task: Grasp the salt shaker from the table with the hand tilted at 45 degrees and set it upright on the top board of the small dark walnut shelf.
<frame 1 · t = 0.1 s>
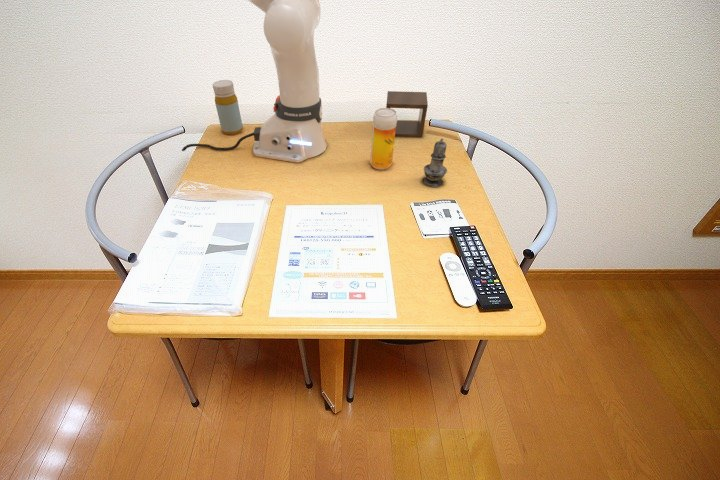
beer can: (380, 165, 103), on the table
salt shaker: (432, 182, 96), on the table
shelf: (402, 129, 118), on the table
bottle: (232, 131, 122), on the table
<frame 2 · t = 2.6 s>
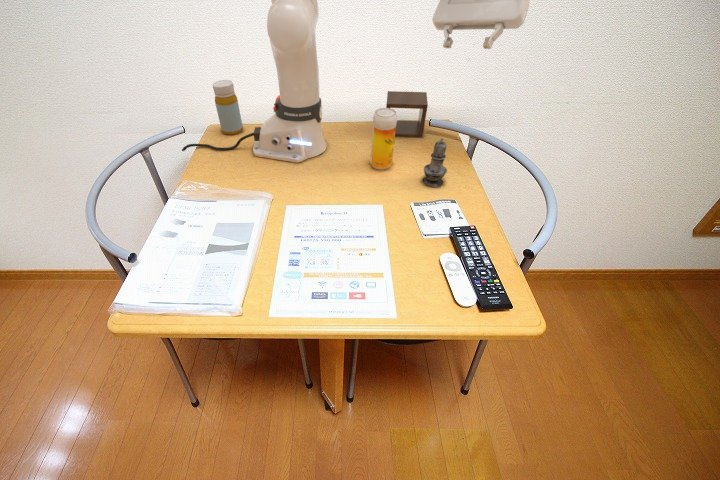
hand: (466, 47, 83), 28 cm above the table, tool tilted 40°, fingers open, 8 cm apart
nothing on the table moved.
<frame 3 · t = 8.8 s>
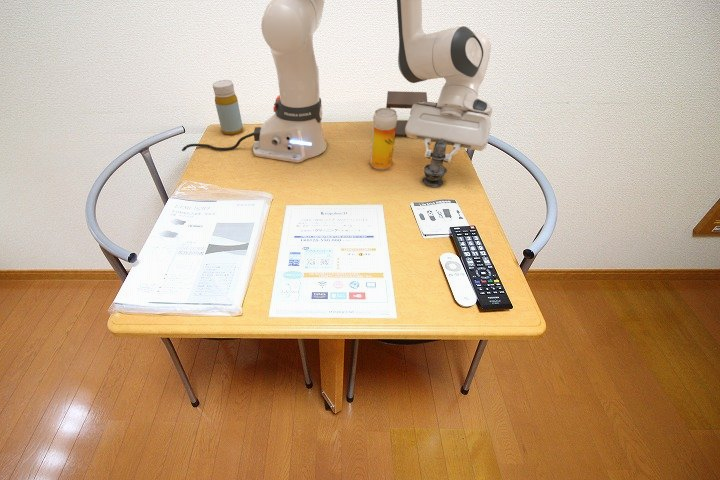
hand: (437, 160, 91), 7 cm above the table, tool tilted 45°, fingers closed on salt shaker, 3 cm apart
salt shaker: (432, 182, 96), on the table, touching gripper
everything else where it was.
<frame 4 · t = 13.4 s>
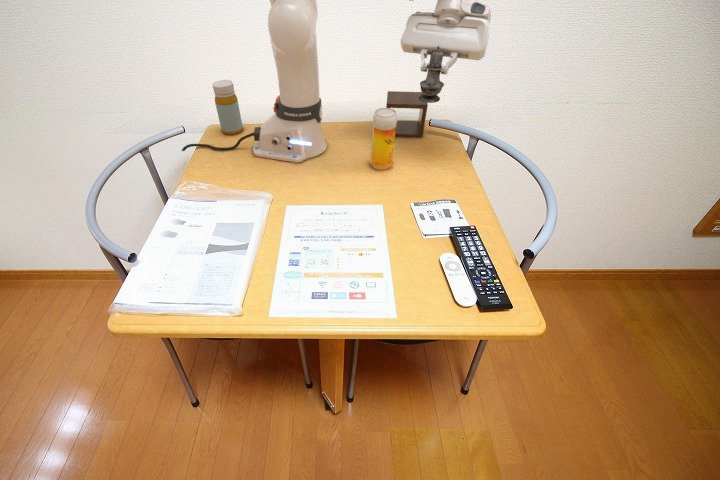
hand: (433, 71, 88), 23 cm above the table, tool tilted 45°, fingers closed on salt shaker, 3 cm apart
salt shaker: (429, 99, 93), point 16 cm above the table, touching gripper
everything else where it was.
when the fingers open (16 cm above the table, at t = 18.0 s): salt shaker stays where it is, resting on shelf.
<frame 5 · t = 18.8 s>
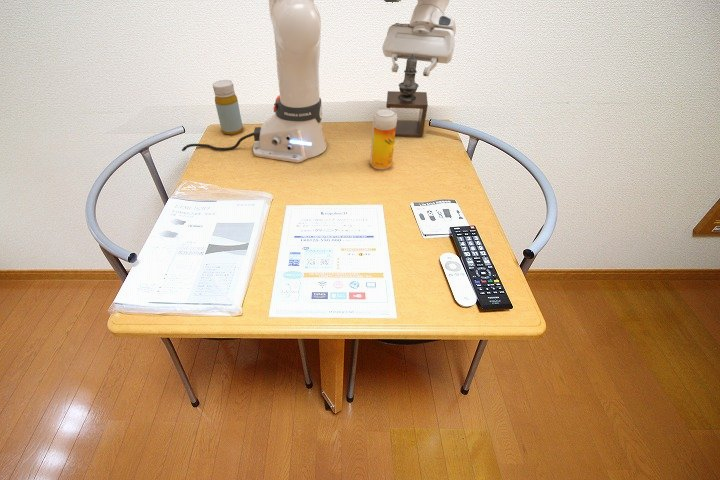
hand: (409, 73, 105), 17 cm above the table, tool tilted 45°, fingers open, 8 cm apart
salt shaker: (406, 98, 111), point 10 cm above the table, touching shelf
everything else where it was.
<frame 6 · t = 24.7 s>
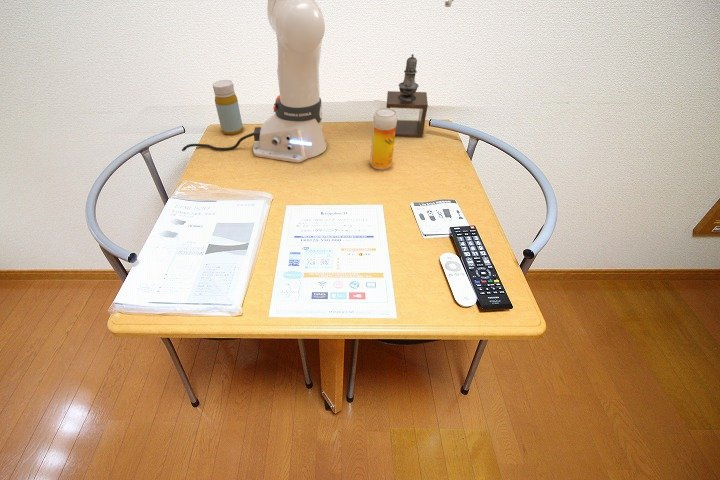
hand: (430, 4, 103), 31 cm above the table, tool tilted 45°, fingers open, 8 cm apart
nothing on the table moved.
at the end: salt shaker inside the target area on the shelf (0.1 cm from its centre), point 9.8 cm above the shelf's base; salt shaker tilted 0°; the gripper is holding nothing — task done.
